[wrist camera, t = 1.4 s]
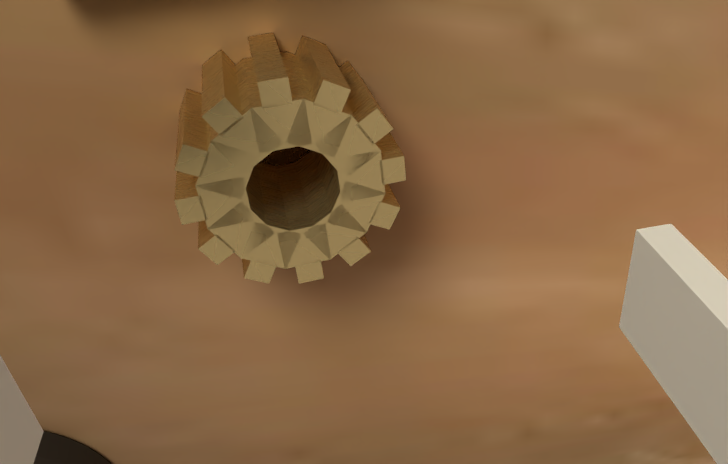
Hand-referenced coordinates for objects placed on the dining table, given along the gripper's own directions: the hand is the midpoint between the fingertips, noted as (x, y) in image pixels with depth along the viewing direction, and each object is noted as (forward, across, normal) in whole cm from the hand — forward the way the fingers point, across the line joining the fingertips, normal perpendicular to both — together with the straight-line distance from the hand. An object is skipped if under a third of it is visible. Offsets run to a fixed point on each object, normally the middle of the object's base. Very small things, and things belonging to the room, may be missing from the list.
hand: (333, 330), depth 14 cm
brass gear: (+18, +1, +4) cm, 18 cm away
